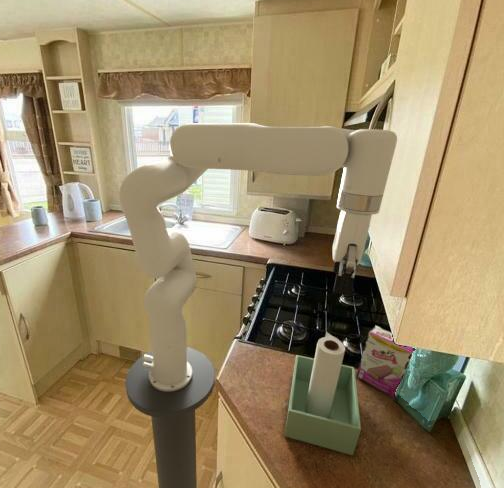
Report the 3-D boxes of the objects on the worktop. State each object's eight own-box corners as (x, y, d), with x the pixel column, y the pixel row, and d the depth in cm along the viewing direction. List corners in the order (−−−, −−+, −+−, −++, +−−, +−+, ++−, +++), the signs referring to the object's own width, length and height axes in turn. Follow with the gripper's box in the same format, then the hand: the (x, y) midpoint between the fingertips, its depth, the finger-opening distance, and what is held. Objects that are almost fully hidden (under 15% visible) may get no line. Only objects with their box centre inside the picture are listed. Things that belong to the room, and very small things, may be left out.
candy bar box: (355, 377, 91) (367, 331, 84) (362, 369, 94) (375, 324, 87) (395, 400, 84) (412, 352, 77) (402, 390, 87) (419, 343, 80)
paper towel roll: (323, 426, 76) (339, 357, 67) (300, 412, 79) (313, 345, 70) (335, 407, 81) (351, 341, 72) (313, 395, 84) (326, 330, 75)
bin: (284, 436, 74) (288, 410, 70) (292, 377, 90) (296, 354, 87) (352, 455, 70) (361, 429, 66) (348, 390, 87) (354, 367, 83)
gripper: (336, 190, 67) (323, 263, 74) (338, 211, 52) (321, 299, 59) (374, 194, 65) (356, 268, 72) (388, 216, 50) (363, 307, 57)
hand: (340, 282), depth 65 cm, fingers open, 9 cm apart
